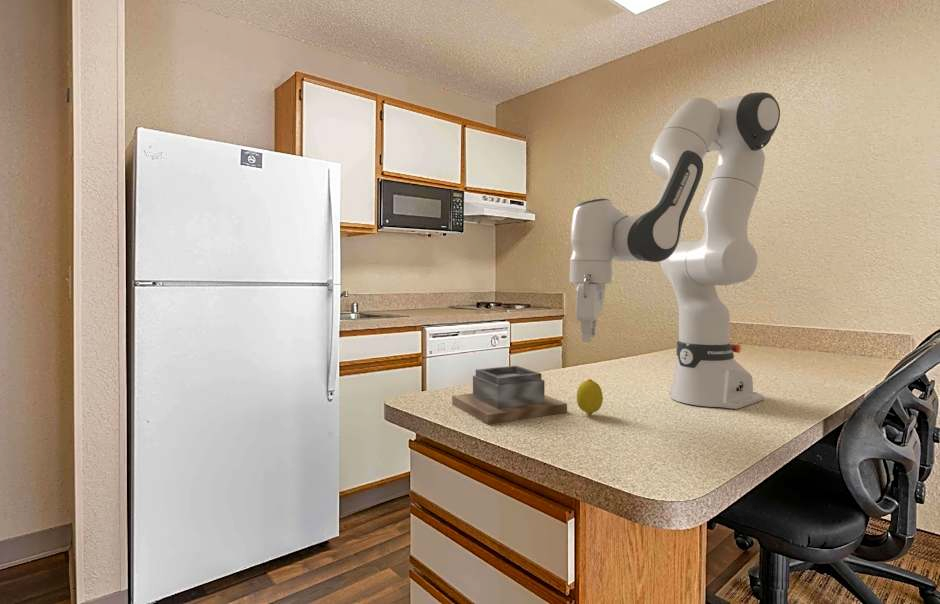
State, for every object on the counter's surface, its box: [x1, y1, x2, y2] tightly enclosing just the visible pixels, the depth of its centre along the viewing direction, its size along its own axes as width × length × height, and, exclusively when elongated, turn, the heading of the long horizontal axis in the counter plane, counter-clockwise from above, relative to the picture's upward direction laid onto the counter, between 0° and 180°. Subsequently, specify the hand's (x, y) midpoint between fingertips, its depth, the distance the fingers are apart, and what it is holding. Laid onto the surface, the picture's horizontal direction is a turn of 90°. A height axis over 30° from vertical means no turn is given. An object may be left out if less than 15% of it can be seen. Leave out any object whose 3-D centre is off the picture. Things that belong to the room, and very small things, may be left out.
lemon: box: [576, 378, 604, 416], centre depth 108 cm, size 6×6×8 cm
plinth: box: [451, 365, 568, 425], centre depth 114 cm, size 20×18×8 cm
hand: (588, 339), depth 107 cm, fingers open, 8 cm apart
